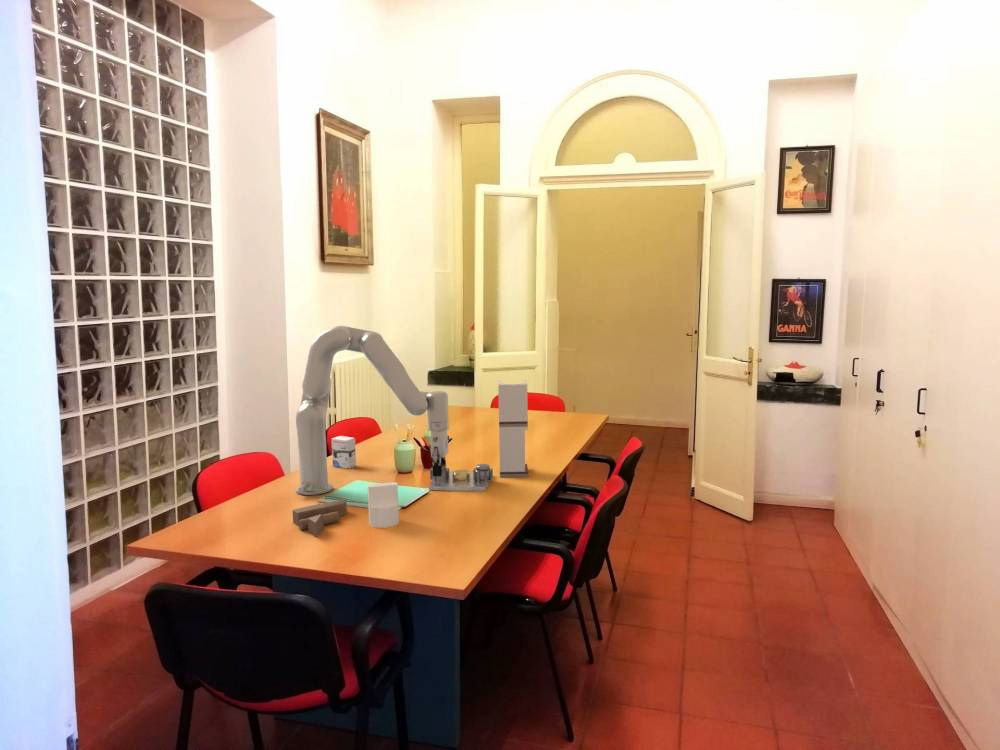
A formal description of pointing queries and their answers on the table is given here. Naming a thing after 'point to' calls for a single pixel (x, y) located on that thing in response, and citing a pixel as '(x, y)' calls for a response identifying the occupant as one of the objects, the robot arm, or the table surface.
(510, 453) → the grey tall pillar
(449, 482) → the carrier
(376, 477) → the table surface
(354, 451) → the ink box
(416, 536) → the table surface
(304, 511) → the wooden block set
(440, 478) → the planet gear
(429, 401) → the robot arm
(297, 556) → the table surface
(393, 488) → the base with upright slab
